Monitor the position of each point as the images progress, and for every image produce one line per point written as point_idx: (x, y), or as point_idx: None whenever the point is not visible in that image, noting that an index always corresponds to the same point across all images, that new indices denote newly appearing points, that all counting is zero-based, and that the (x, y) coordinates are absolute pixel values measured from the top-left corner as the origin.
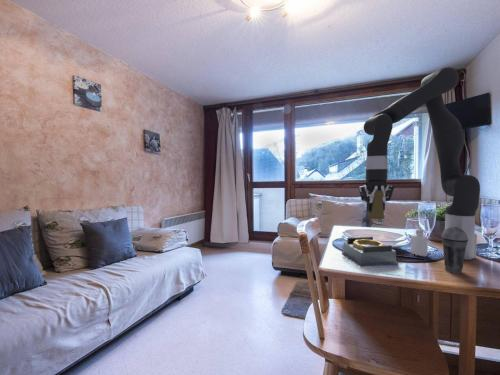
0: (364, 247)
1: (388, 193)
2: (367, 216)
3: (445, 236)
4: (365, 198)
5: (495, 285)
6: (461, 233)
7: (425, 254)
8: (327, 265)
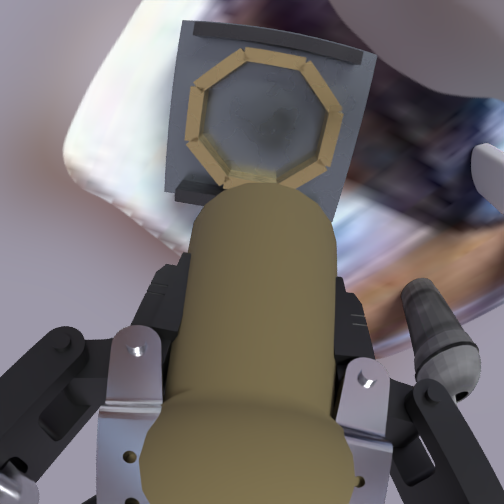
0: (175, 200)
1: (408, 496)
2: (195, 222)
3: (424, 373)
4: (65, 406)
5: (396, 353)
6: None
7: (482, 195)
8: (77, 139)
